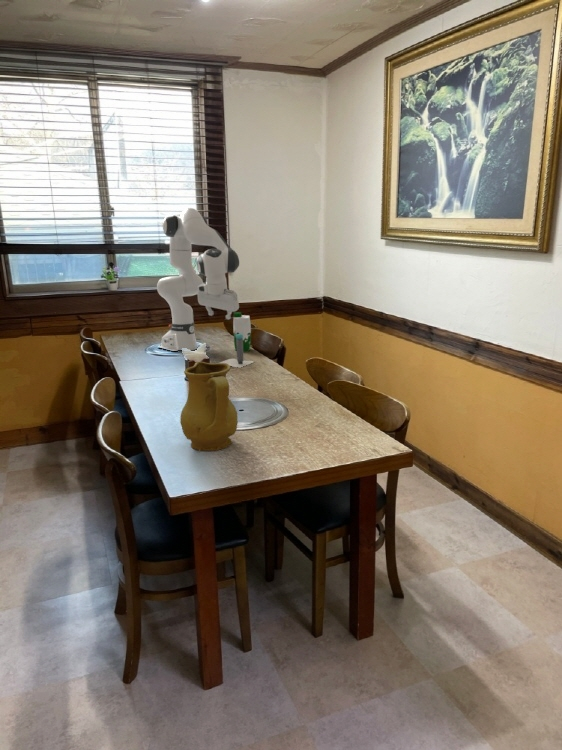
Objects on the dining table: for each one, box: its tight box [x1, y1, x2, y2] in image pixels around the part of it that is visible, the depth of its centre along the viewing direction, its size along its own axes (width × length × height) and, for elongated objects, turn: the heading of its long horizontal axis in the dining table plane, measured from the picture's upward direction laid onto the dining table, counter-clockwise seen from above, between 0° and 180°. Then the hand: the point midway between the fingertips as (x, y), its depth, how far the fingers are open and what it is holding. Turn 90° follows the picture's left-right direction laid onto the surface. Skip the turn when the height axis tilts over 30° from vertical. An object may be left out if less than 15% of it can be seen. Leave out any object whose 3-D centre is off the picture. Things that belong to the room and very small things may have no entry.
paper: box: [219, 358, 255, 369], centre depth 255 cm, size 14×12×1 cm
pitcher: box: [179, 361, 238, 452], centre depth 158 cm, size 17×19×25 cm
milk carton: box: [232, 311, 252, 352], centre depth 280 cm, size 9×9×20 cm
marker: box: [236, 334, 245, 364], centre depth 252 cm, size 3×3×14 cm
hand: (219, 317), depth 237 cm, fingers open, 8 cm apart
